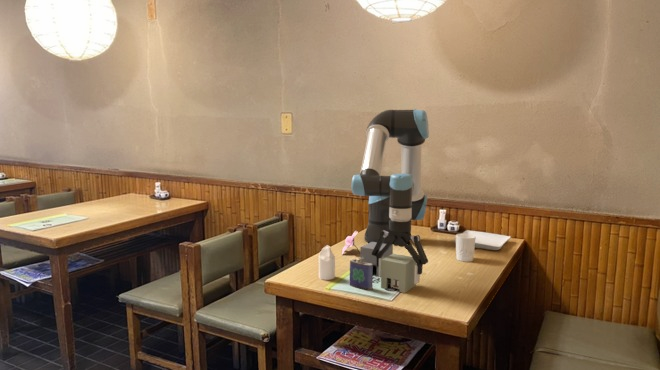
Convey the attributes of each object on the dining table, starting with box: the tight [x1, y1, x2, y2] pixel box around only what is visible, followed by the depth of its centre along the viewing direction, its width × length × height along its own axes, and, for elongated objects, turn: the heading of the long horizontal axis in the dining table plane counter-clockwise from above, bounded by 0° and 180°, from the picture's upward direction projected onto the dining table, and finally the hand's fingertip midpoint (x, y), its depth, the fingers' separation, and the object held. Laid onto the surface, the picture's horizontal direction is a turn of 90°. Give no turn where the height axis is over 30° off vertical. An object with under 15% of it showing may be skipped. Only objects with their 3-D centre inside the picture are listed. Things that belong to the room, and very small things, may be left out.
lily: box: [341, 230, 360, 255], centre depth 213 cm, size 12×12×10 cm
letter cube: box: [390, 279, 400, 290], centre depth 172 cm, size 4×4×4 cm
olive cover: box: [380, 253, 417, 294], centre depth 172 cm, size 9×9×10 cm
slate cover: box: [359, 242, 394, 277], centre depth 188 cm, size 9×9×10 cm
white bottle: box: [318, 244, 336, 281], centre depth 181 cm, size 6×12×6 cm
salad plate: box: [453, 229, 511, 251], centre depth 228 cm, size 21×21×3 cm
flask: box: [349, 256, 374, 291], centre depth 171 cm, size 9×3×11 cm, turn 51°
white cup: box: [455, 233, 476, 263], centre depth 204 cm, size 8×8×10 cm
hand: (398, 279), depth 172 cm, fingers open, 13 cm apart
